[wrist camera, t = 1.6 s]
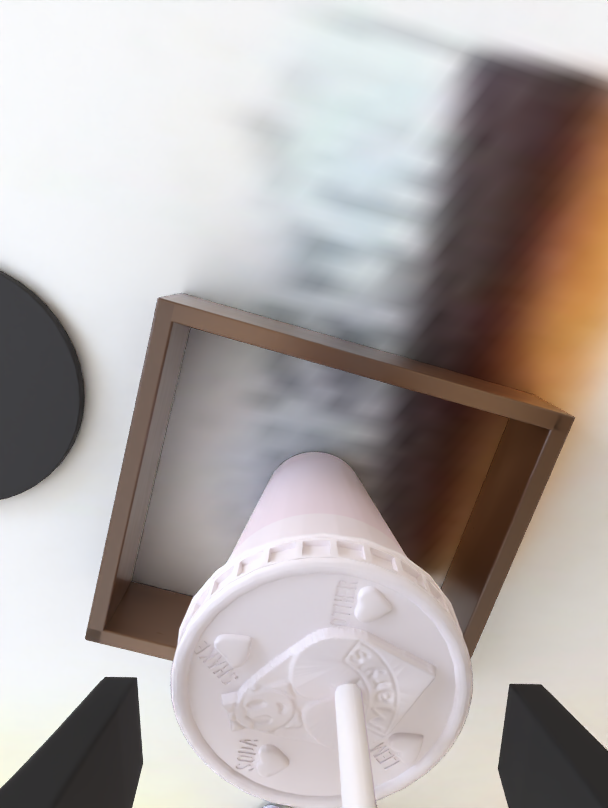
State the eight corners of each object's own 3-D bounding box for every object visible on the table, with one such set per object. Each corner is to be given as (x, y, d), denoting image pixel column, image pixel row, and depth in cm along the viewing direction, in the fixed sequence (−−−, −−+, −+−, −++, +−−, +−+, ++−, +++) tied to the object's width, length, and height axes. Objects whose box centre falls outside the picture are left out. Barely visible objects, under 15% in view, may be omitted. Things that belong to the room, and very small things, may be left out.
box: (535, 394, 19) (575, 417, 16) (424, 666, 22) (442, 726, 19) (180, 292, 18) (157, 297, 15) (114, 589, 21) (83, 640, 18)
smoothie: (412, 552, 21) (611, 1084, 7) (255, 586, 21) (166, 1151, 8) (378, 399, 19) (551, 711, 6) (209, 439, 20) (-3, 820, 6)
